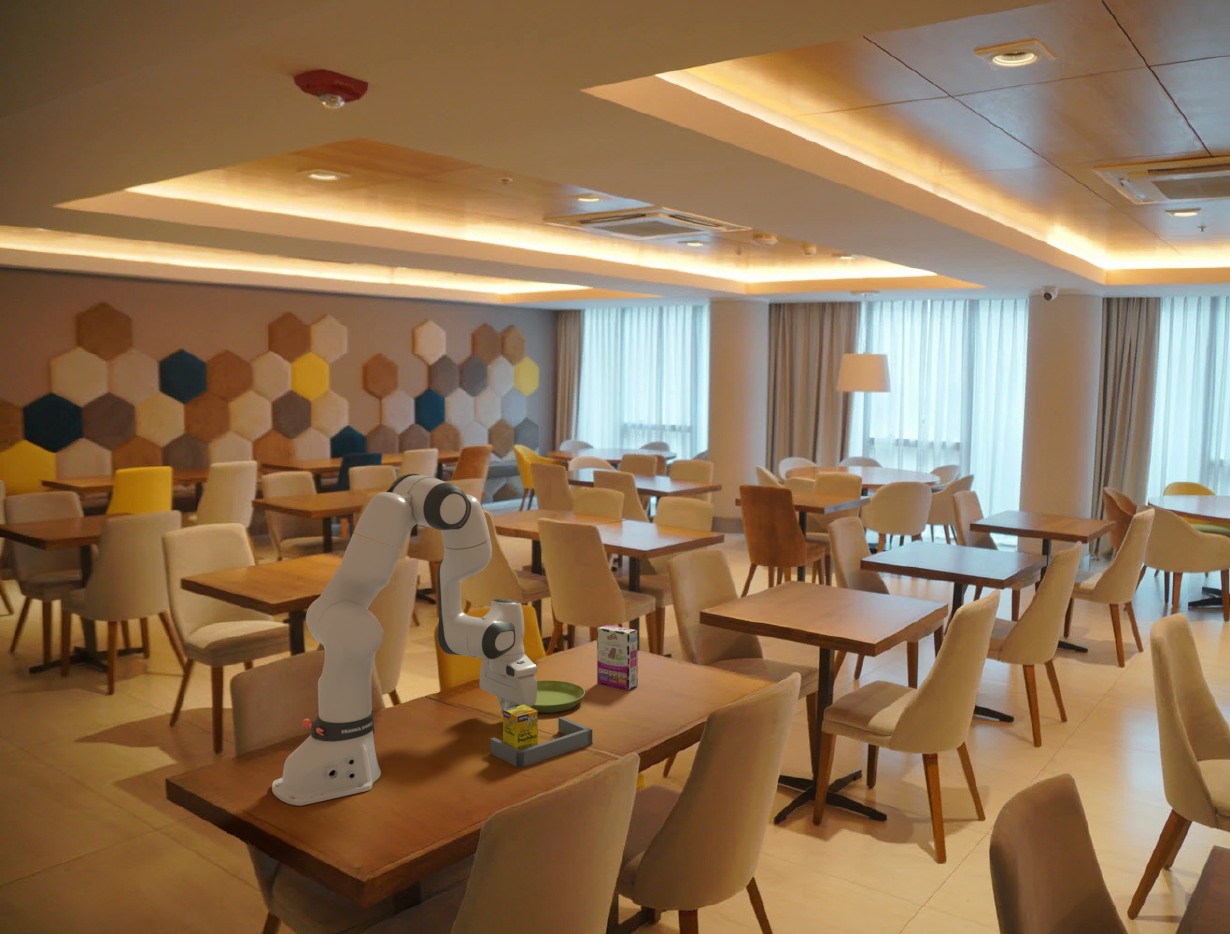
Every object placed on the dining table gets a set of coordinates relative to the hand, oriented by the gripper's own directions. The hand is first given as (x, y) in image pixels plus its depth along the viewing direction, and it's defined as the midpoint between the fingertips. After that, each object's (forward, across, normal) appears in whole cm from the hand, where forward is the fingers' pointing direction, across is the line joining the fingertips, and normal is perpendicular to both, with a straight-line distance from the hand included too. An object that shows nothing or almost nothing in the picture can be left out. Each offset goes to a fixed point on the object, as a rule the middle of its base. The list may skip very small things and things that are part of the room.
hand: (507, 715), depth 238 cm
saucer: (+2, -4, +16) cm, 17 cm away
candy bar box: (+2, -2, +40) cm, 40 cm away
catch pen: (+2, +20, -4) cm, 21 cm away
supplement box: (+2, +20, -11) cm, 23 cm away
